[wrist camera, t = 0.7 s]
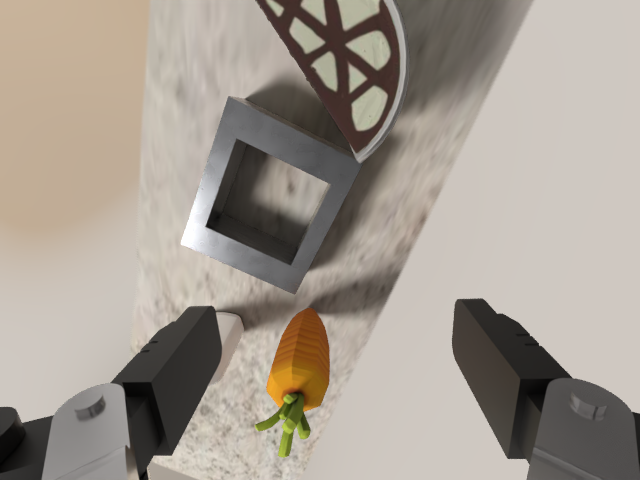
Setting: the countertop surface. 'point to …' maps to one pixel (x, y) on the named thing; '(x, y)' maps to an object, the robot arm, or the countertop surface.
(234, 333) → the eye dropper bottle
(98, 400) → the robot arm
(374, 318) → the countertop surface
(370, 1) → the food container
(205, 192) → the grey square frame
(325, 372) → the carrot
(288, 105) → the countertop surface
